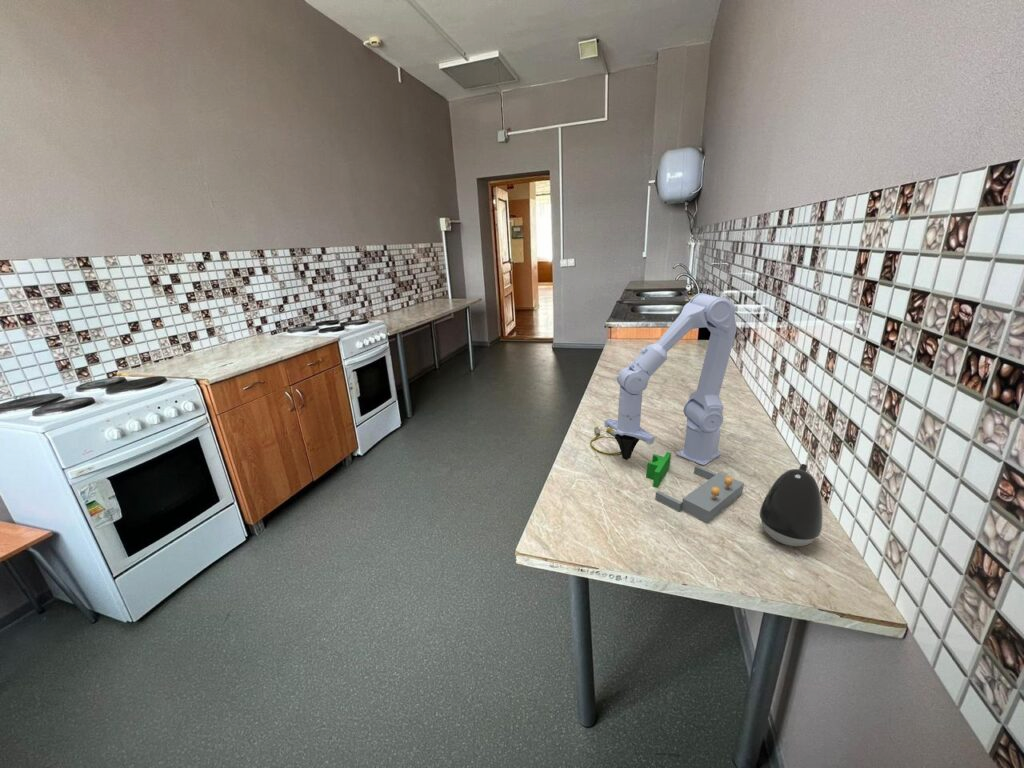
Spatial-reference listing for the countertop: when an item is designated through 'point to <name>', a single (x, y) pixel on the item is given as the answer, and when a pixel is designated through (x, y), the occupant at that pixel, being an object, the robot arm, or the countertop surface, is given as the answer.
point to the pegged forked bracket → (706, 495)
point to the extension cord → (609, 431)
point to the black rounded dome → (793, 508)
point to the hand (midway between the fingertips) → (626, 458)
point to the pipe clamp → (658, 468)
